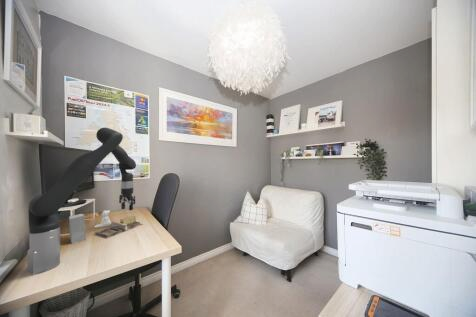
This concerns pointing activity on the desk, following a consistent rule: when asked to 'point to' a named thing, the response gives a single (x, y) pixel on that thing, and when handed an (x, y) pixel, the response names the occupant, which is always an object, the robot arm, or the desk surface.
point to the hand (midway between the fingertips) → (127, 209)
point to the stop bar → (128, 220)
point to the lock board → (115, 230)
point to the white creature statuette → (104, 219)
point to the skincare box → (77, 228)
